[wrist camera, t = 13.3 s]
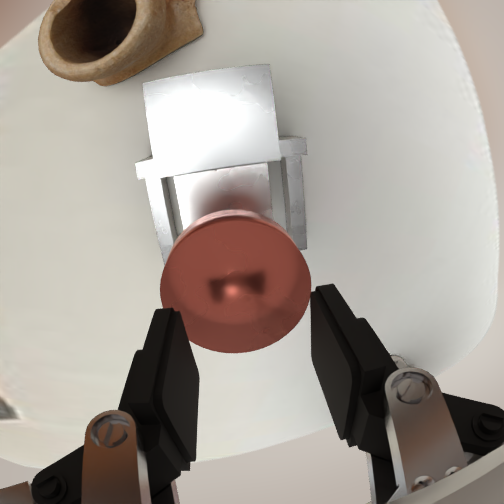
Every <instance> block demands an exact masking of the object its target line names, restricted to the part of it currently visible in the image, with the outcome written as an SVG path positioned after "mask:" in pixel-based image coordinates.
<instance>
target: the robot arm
mask: <svg viewBox="0 0 504 504" xmlns="http://www.w3.org/2000/svg"><path fill="white" fill-rule="evenodd" d="M310 307H311V357H312V362H313V365H314V368H315V371H316V374H317V376H318V379H319V382H320V385H321V387H322V390H323V393H324V396H325V399H326V401H327V404H328V407H329V410H330V413H331V416H332V418H333V421H334V424H335V427H336V430H337V433H338V435H339V438H340V439H341V440H343V439H346V440H347V443H348V446H349V447H352V446H356V445H357V446H358V449H359V450H362V451H365V452H366V456H367V464H368V473H369V482H370V491H371V501H370V502H368V503H367V504H504V410H502V409H501V408H499V407H497V406H495V405H491V404H486V403H482V402H478V401H474V400H470V399H465V398H461V397H457V396H453V395H449V394H445V393H442V392H441V390H440V387H439V385H438V383H437V381H436V380H435V378H434V376H432V375H431V374H430V373H429V372H427V371H425V370H423V369H419V368H414V367H409V368H407V365H406V363H405V362H404V360H403V359H402V358H400V357H397V356H390V354H389V353H388V351H387V350H386V348H385V347H384V345H383V344H382V342H381V341H380V339H379V338H378V336H377V335H376V333H375V332H374V330H373V329H372V328H371V326H370V325H369V323H368V322H367V320H366V319H365V318H358V319H357V318H356V317H355V315H354V314H353V312H352V311H351V309H350V308H349V306H348V305H347V303H346V302H345V300H344V299H343V297H342V296H341V294H340V293H339V291H338V290H337V288H336V287H335V285H334V284H328V285H322V286H317V287H316V289H315V291H313V292H311V293H310ZM198 398H199V372H198V368H197V365H196V362H195V359H194V356H193V353H192V349H191V346H190V343H189V340H188V336H187V333H186V330H185V326H184V323H183V319H182V316H181V313H180V311H175V310H174V308H172V307H171V308H162V309H156V310H155V312H154V315H153V318H152V321H151V324H150V327H149V331H148V334H147V337H146V340H145V343H144V347H143V350H137V351H136V353H135V355H134V358H133V361H132V364H131V367H130V370H129V374H128V377H127V380H126V383H125V387H124V390H123V394H122V397H121V400H120V404H119V407H118V410H109V411H105V412H102V413H101V414H99V415H97V416H96V417H94V418H93V419H92V420H91V421H90V423H89V424H88V426H87V429H86V432H85V441H84V445H83V446H81V447H79V448H78V449H76V450H75V451H73V452H71V453H70V454H68V455H67V456H65V457H63V458H62V459H60V460H58V461H57V462H55V463H53V464H52V465H50V466H48V467H47V468H45V469H43V470H42V471H40V472H39V473H38V474H37V475H36V476H35V478H34V479H33V482H32V484H31V483H30V482H28V481H26V482H23V483H20V484H16V485H13V486H10V487H6V488H3V489H0V504H180V502H179V497H178V492H177V486H176V482H175V479H176V478H178V477H179V476H180V475H181V471H190V462H192V461H195V460H196V444H197V418H198Z"/></svg>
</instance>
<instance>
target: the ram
mask: <svg viewBox="0 0 504 504" xmlns="http://www.w3.org/2000/svg"><path fill="white" fill-rule="evenodd" d="M174 181H175V186H176V192H177V197H178V203H179V208H180V213H181V218H182V223H183V228H184V231H183V232H182V233H181V234H180V235H179V236H178V238H177V239H176V241H175V242H174V244H173V246H172V248H171V251H170V253H169V256H168V258H167V261H166V264H165V267H164V270H163V273H162V277H161V283H160V296H161V301H162V306H163V308H171V307H172V308H174V310H175V311H180V313H181V316H182V319H183V323H184V326H185V330H186V333H187V336H188V340H189V341H191V342H193V343H194V344H196V345H199V346H201V347H203V348H206V349H209V350H212V351H217V352H223V353H244V352H250V351H255V350H258V349H262V348H264V347H267V346H269V345H271V344H273V343H275V342H277V341H279V340H280V339H281V338H283V337H284V336H286V335H287V334H288V333H289V332H290V331H291V330H292V329H293V328H294V327H295V326H296V325H297V324H298V322H299V321H300V319H301V318H302V317H303V315H304V313H305V311H306V309H307V306H308V303H309V300H310V293H311V277H310V272H309V269H308V266H307V263H306V261H305V259H304V257H303V256H302V254H301V252H300V251H299V249H298V248H297V246H296V244H295V243H294V241H293V240H292V238H291V236H290V235H289V234H288V233H287V232H286V230H285V229H284V228H283V227H281V226H280V225H279V224H278V223H276V222H275V221H273V213H272V203H271V193H270V184H269V175H268V165H267V162H259V163H251V164H244V165H236V166H229V167H222V168H216V169H209V170H203V171H197V172H191V173H185V174H179V175H175V176H174Z"/></svg>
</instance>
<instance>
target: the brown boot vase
mask: <svg viewBox="0 0 504 504" xmlns="http://www.w3.org/2000/svg"><path fill="white" fill-rule="evenodd" d="M202 34H203V28H202V25H201V22H200V20H199V17H198V14H197V10H196V7H195V0H54V1H53V2H52V4H51V5H50V7H49V9H48V10H47V12H46V14H45V16H44V18H43V21H42V24H41V26H40V31H39V37H38V46H39V53H40V55H41V58H42V60H43V63H44V64H45V65H46V67H47V68H48V69H49V70H50V71H51V72H52V73H54V74H55V75H57V76H59V77H61V78H64V79H67V80H70V81H77V82H86V81H94V82H96V83H97V84H99V85H101V86H108V85H112V84H116V83H118V82H121V81H123V80H125V79H127V78H129V77H131V76H133V75H135V74H137V73H139V72H140V71H142V70H144V69H145V68H147V67H149V66H150V65H152V64H153V63H155V62H157V61H158V60H160V59H161V58H163V57H165V56H166V55H168V54H170V53H171V52H173V51H175V50H176V49H178V48H180V47H181V46H183V45H185V44H187V43H189V42H190V41H192V40H194V39H196V38H198V37H199V36H201V35H202Z"/></svg>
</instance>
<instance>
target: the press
mask: <svg viewBox="0 0 504 504" xmlns="http://www.w3.org/2000/svg"><path fill="white" fill-rule="evenodd" d="M142 85H143V93H144V101H145V108H146V116H147V123H148V129H149V136H150V142H151V148H152V154H153V156H150V157H147V158H145V159H143V160H141V161H139V162H136V163H135V166H136V172H137V177H138V180H139V179H143V178H145V180H146V186H147V191H148V196H149V200H150V205H151V210H152V214H153V219H154V223H155V228H156V232H157V236H158V241H159V245H160V249H161V253H162V257H163V261H164V265H165V264H166V261H167V258H168V256H169V253H170V251H171V248H172V246H173V244H174V242H175V241H176V239H177V238H178V237H177V232H176V227H175V222H174V218H173V213H172V208H171V202H170V197H169V192H168V187H167V181H166V177H169V176H174V175H179V174H185V173H191V172H197V171H203V170H209V169H216V168H222V167H229V166H236V165H244V164H251V163H259V162H268V161H277V160H281V169H282V179H283V189H284V200H285V212H286V223H287V233H288V234H289V235H290V236H291V238H292V240H293V241H294V243H295V244H296V246H297V248H298V249H299V250H305V249H307V238H306V220H305V205H304V191H303V178H302V165H301V155H307V146H306V138H303V137H296V136H284V137H278V129H277V120H276V112H275V103H274V95H273V87H272V79H271V72H270V64H262V65H249V66H239V67H230V68H222V69H214V70H208V71H201V72H195V73H189V74H183V75H178V76H173V77H168V78H163V79H159V80H154V81H150V82H146V83H142Z"/></svg>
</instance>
